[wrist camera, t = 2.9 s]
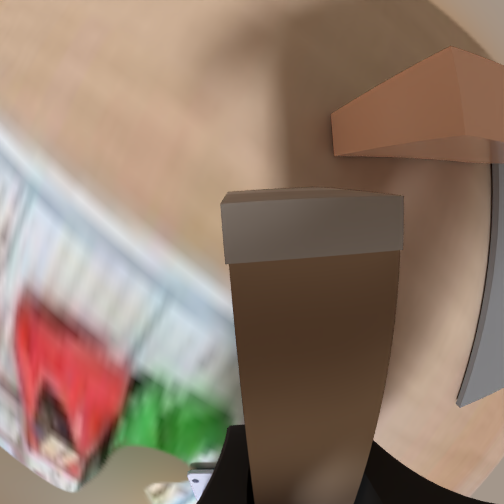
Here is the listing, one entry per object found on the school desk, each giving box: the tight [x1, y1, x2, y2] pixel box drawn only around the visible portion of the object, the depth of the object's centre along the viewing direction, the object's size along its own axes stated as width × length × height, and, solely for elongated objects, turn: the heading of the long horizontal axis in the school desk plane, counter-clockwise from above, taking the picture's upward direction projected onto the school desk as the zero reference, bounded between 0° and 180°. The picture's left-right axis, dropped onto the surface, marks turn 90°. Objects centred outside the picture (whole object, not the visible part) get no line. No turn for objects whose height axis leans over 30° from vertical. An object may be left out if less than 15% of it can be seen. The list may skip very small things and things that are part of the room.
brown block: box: [220, 187, 404, 504], centre depth 8 cm, size 15×3×5 cm, turn 4°
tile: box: [331, 46, 504, 164], centre depth 9 cm, size 2×9×9 cm, turn 94°
